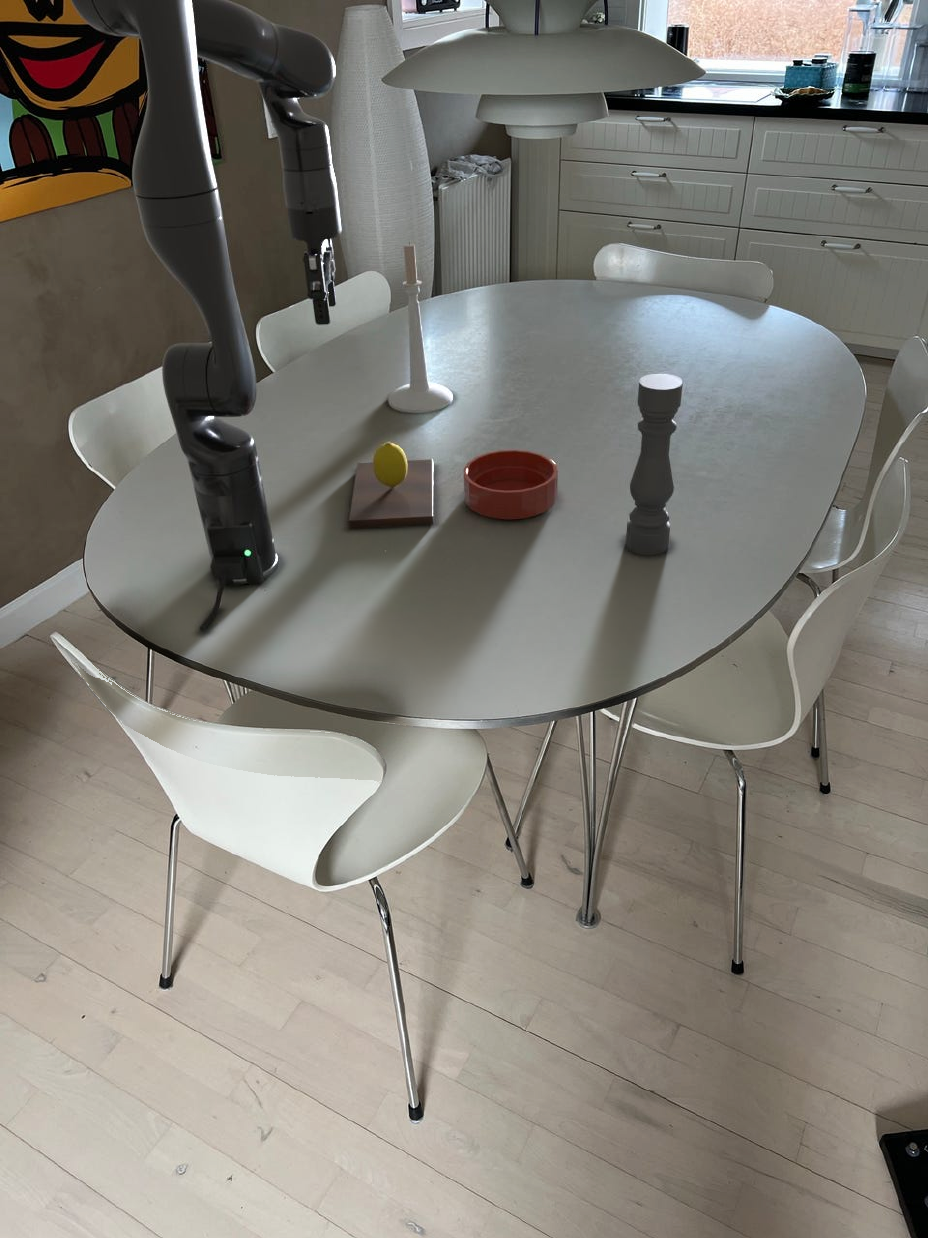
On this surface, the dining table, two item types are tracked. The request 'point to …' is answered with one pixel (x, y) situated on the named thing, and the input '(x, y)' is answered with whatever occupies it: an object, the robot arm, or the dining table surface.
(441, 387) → the candlestick
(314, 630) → the dining table surface
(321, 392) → the dining table surface
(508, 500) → the bowl
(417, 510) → the board
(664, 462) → the candle holder
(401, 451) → the lemon
